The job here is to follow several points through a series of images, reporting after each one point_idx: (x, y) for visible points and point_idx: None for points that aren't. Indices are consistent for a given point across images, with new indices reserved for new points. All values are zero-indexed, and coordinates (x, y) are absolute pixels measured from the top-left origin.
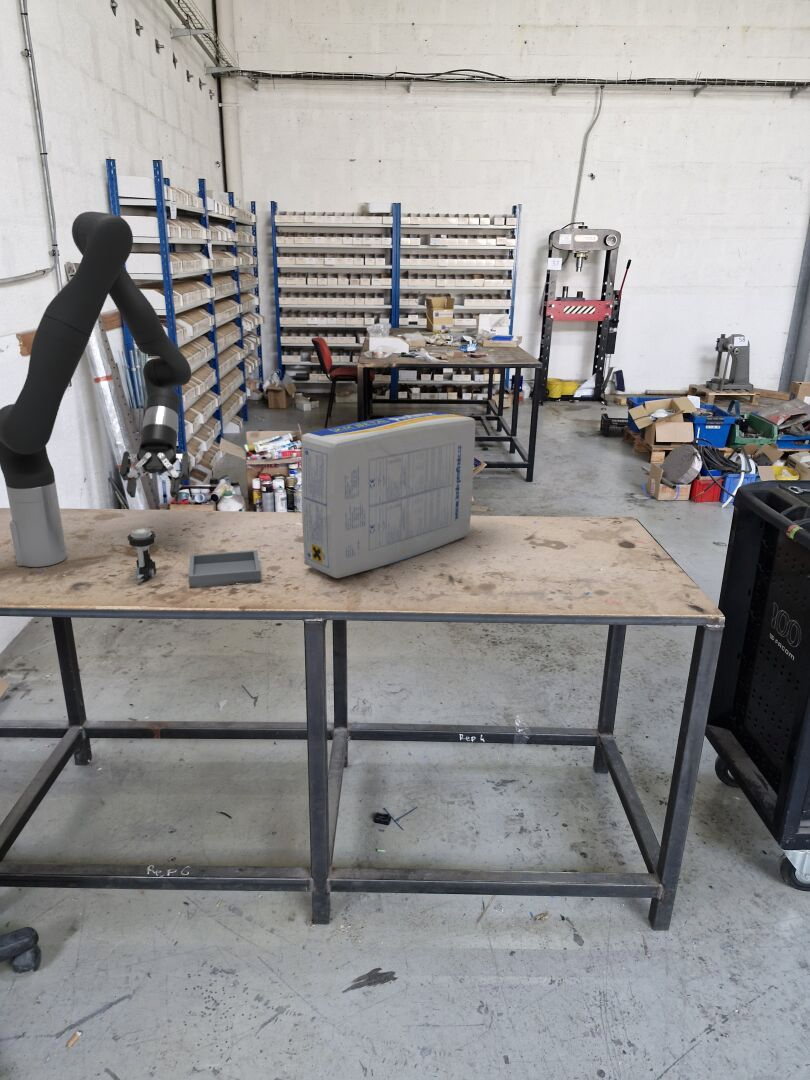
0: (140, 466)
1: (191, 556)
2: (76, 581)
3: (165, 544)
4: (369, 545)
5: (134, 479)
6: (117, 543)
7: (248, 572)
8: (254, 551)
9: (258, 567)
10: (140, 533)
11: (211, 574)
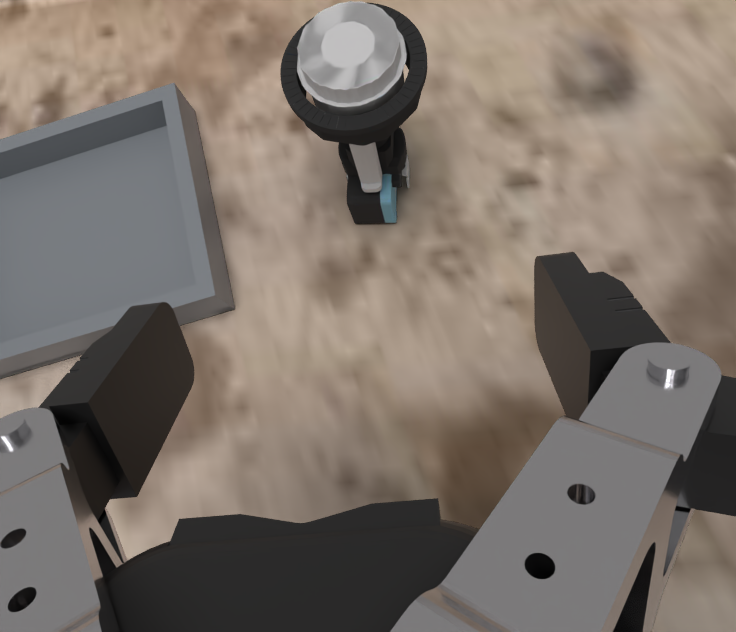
0: (545, 454)
1: (205, 276)
2: (642, 113)
3: None
4: None
5: (587, 369)
6: (716, 598)
7: None
8: None
9: None
10: (337, 13)
11: (96, 109)
